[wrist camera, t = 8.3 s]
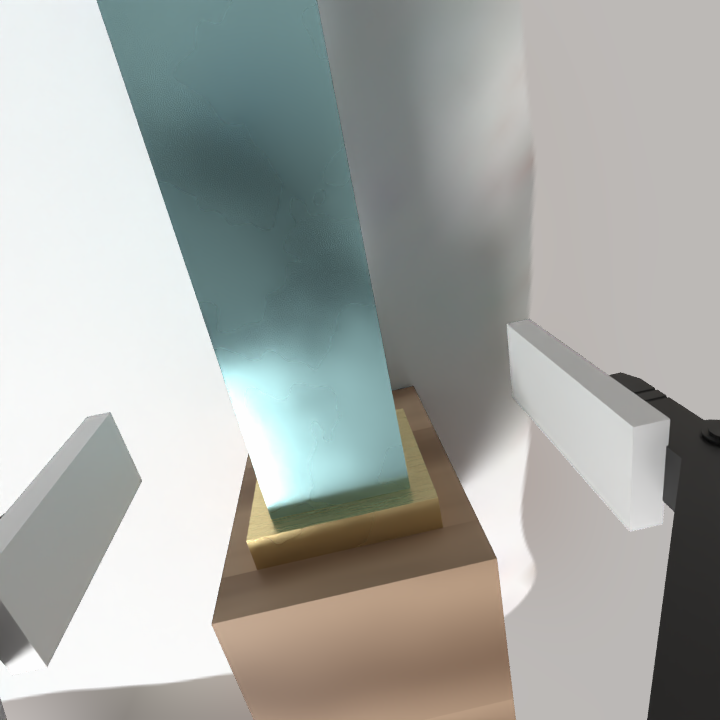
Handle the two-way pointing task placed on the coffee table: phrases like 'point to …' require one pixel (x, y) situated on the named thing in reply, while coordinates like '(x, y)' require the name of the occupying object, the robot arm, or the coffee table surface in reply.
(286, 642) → the socket
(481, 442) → the coffee table surface
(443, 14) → the coffee table surface
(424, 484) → the teal square bar
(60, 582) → the robot arm
